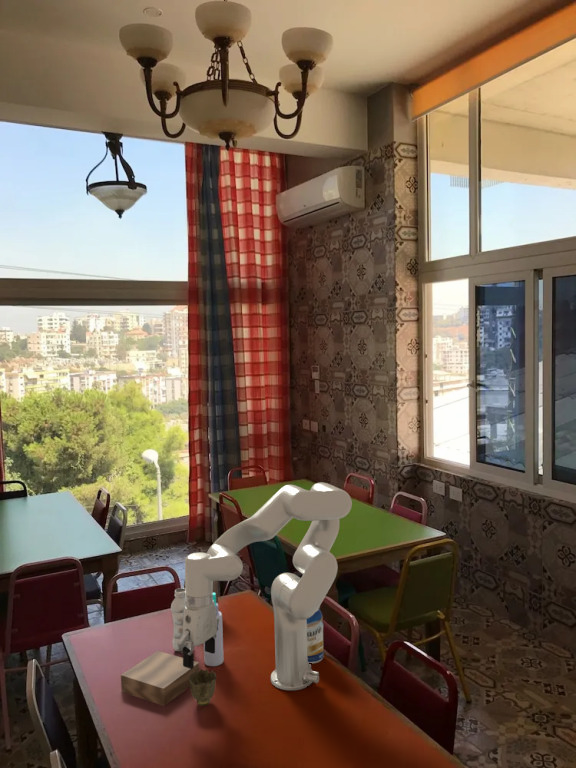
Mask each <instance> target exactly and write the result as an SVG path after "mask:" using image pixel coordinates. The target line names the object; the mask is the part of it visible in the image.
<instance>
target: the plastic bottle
mask: <svg viewBox="0 0 576 768" xmlns="http://www.w3.org/2000/svg"><path fill="white" fill-rule="evenodd" d="M174 597H175V598H174V599H173V600H172V602H171V604H170V605H171V606H170V611H171V615H172V616H171V617H172V622H173V623H172V624H173V631H172V632H173V635H172V641H171V642H172V643H171V644H172V648H173V649H174V651H176V652H179V653H182V652H181V651H180V650H179V646H178V644H177V643H178V641H179V639H180V638H181V637H182V635H183V619H184V611H185V607H186V606H185V588H184V587H181V588H176V589H175V590H174ZM190 642H191V641H190ZM190 646H191V645H189V644H188V646H187V648H188V649H189V648H190Z"/></svg>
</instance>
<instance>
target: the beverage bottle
mask: <svg viewBox="0 0 576 768" xmlns="http://www.w3.org/2000/svg"><path fill="white" fill-rule="evenodd" d="M320 607H321V605H320V606H319V608H318V609H317V611H316V612H315V613H314V614H313V615H312V616H311V617H310V618H308V619H307V658H308V664H309V663H312V664H317V663H320V662H321V661H322V660H323V659H324V622H323V620H324V619H323V618H324V617H323V614H322V611H321V609H320Z"/></svg>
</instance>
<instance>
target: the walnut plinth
mask: <svg viewBox="0 0 576 768" xmlns="http://www.w3.org/2000/svg"><path fill="white" fill-rule="evenodd" d="M195 671H197V673H198V672H199V671H200V662H198V661H195V660H194V667H193V668H192V669H190V668H187V667H184V666H183V657H180V656H178V655H173V654H170V653H166V652H163V651H160V650H157V651H156V652H154V653H152V654H151V655H149V656H148V657H146V658H145V659H143V660H141V661H140V662H139V663H136V665H133V667H131V668H129V669H128V670H126V671H125V672H122V674H120V687H121V693H124V694H127V695H130V696H133V697H136V698H139V699H142V700H146V701H147V702H151V703H153V704H157V705H160V706H163V707H165V706H167V705H168V704H169V703H170V702H172V701H173V700H174V699H175V698H177V697H178V696H179V695H181V694H182V693H183V692H185V691H186V690H187V689H188V688H191V687H190V681H189V677H190V674H192V673H194V674H195Z"/></svg>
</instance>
